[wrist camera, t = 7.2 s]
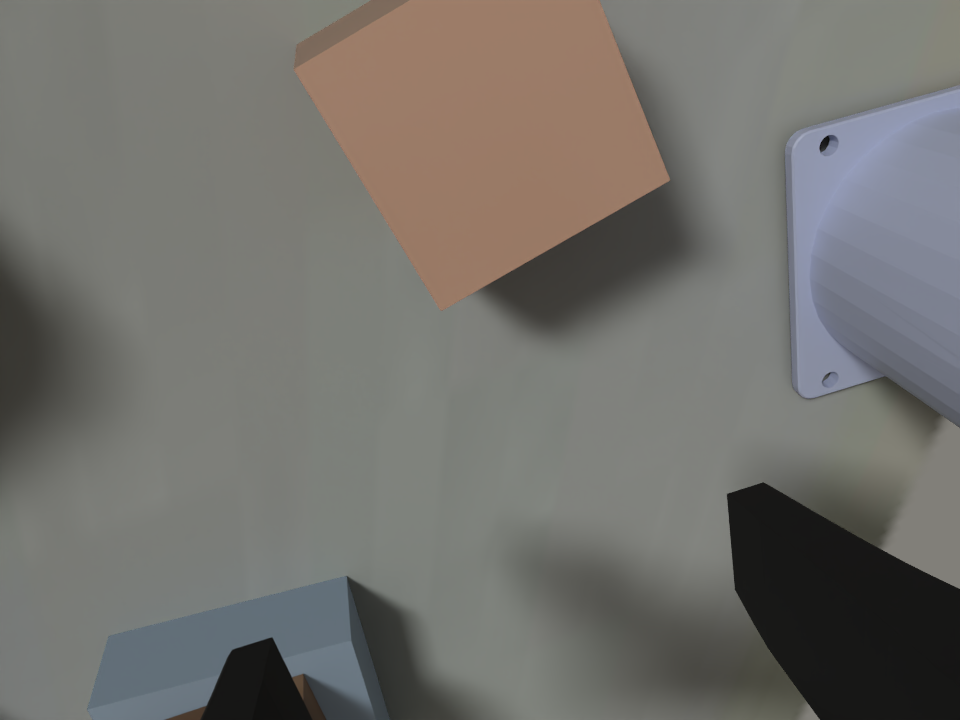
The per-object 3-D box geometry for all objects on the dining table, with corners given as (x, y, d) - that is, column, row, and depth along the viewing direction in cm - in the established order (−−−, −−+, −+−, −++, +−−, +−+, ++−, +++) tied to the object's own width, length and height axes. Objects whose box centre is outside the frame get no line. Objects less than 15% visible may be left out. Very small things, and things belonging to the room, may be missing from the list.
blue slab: (345, 566, 24) (351, 640, 21) (391, 719, 27) (400, 799, 25) (111, 626, 23) (87, 710, 21) (187, 775, 27) (174, 863, 24)
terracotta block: (496, -75, 17) (563, -91, 13) (587, 132, 19) (670, 180, 15) (296, 44, 17) (293, 69, 13) (410, 234, 20) (440, 311, 15)
